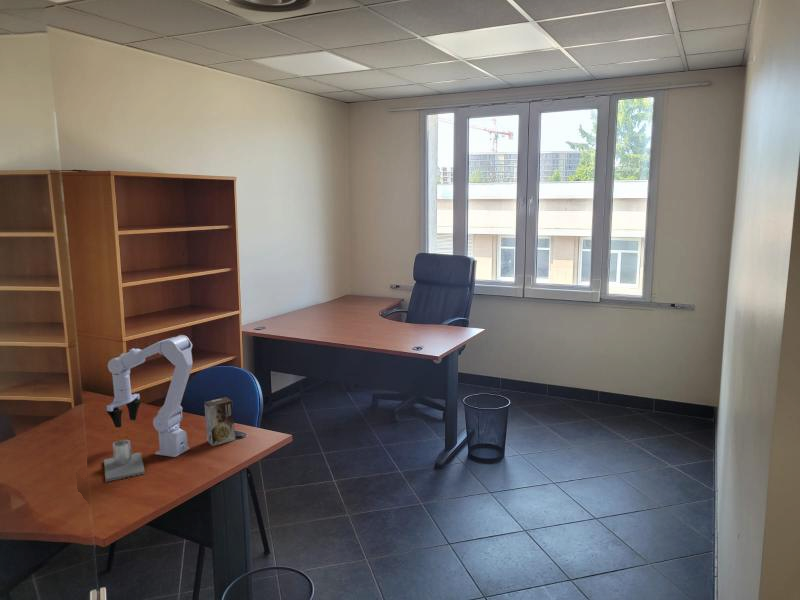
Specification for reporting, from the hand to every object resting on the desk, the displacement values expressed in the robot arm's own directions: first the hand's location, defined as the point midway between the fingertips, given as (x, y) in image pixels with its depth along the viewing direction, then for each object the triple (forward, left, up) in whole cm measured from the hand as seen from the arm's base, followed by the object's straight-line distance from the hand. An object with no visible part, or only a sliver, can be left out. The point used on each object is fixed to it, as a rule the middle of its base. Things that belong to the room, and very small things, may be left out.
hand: (125, 423), depth 218 cm
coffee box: (-30, -16, -10) cm, 35 cm away
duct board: (-12, +14, -10) cm, 21 cm away
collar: (-10, +12, -9) cm, 18 cm away
